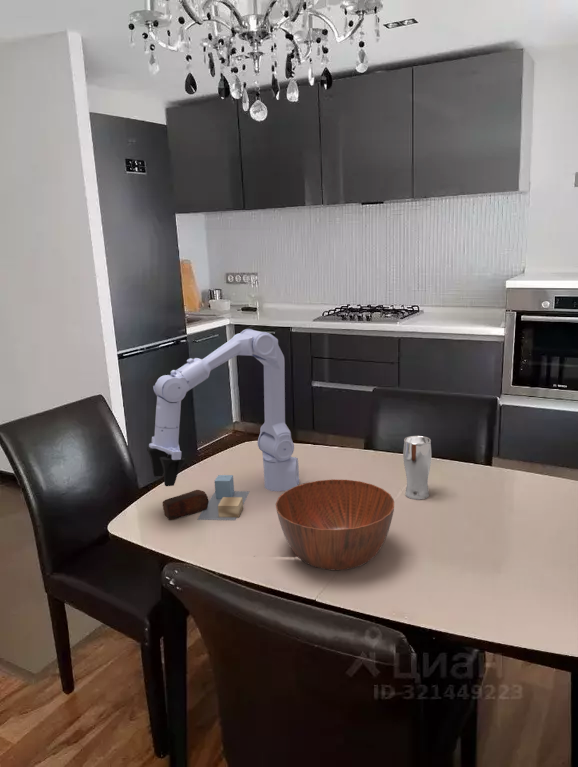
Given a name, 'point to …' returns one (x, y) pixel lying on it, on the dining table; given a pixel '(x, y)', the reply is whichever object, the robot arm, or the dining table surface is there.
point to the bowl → (335, 522)
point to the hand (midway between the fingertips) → (163, 480)
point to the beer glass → (417, 466)
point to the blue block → (224, 486)
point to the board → (212, 508)
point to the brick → (185, 504)
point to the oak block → (230, 507)
